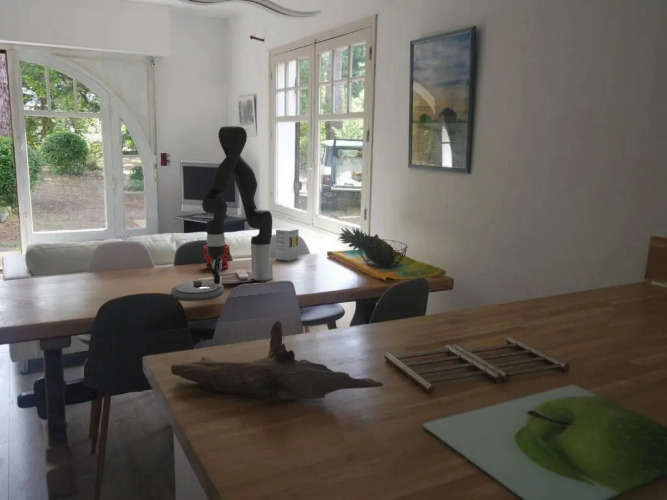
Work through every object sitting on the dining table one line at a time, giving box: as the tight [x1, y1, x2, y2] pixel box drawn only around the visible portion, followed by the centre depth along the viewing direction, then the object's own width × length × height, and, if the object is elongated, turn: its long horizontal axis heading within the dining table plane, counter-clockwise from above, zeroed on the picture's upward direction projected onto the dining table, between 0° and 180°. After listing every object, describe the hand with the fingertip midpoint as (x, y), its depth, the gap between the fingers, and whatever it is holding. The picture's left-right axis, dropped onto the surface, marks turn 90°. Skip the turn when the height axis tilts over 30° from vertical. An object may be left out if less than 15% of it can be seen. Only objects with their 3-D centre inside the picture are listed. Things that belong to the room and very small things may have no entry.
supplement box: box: [275, 227, 299, 262], centre depth 318 cm, size 10×9×17 cm
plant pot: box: [203, 243, 231, 270], centre depth 295 cm, size 13×13×12 cm
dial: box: [175, 276, 223, 294], centre depth 248 cm, size 20×18×4 cm
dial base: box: [171, 284, 225, 301], centre depth 248 cm, size 22×22×2 cm
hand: (217, 283), depth 247 cm, fingers closed
